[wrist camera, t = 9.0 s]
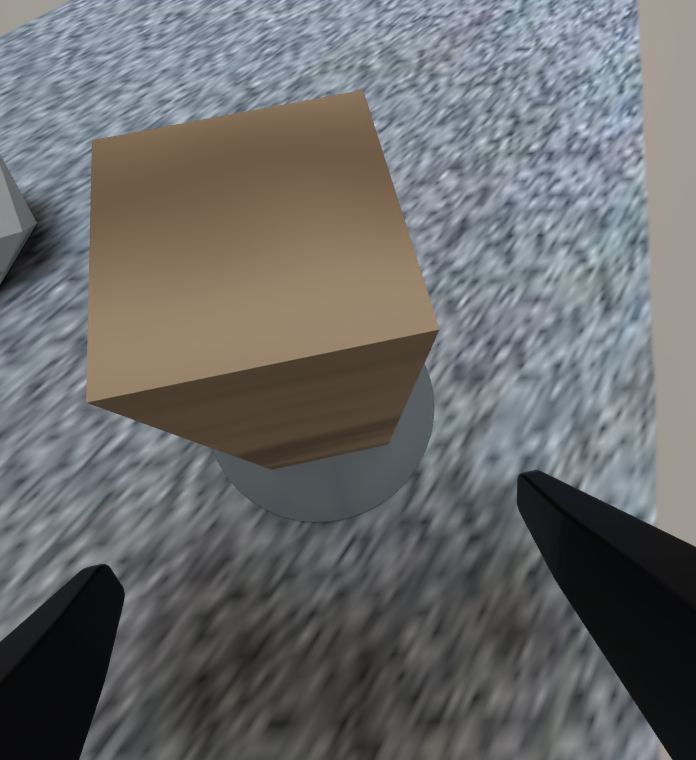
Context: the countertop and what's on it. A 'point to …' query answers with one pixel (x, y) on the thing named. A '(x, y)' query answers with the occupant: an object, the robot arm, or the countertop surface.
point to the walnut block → (255, 283)
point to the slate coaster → (341, 470)
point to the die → (12, 220)
